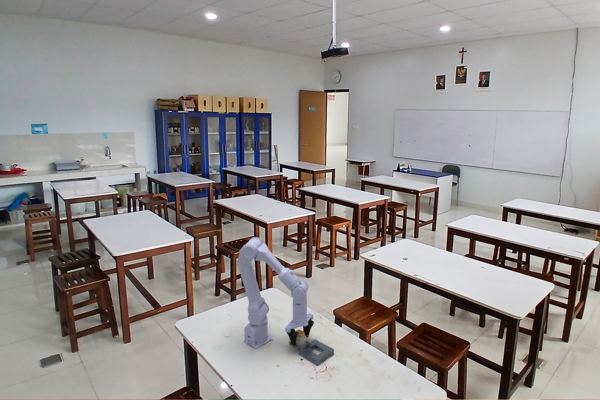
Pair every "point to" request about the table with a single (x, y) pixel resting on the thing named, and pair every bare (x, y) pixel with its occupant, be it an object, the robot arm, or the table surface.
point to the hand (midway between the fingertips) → (299, 340)
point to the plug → (300, 338)
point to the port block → (313, 357)
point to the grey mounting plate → (299, 346)
